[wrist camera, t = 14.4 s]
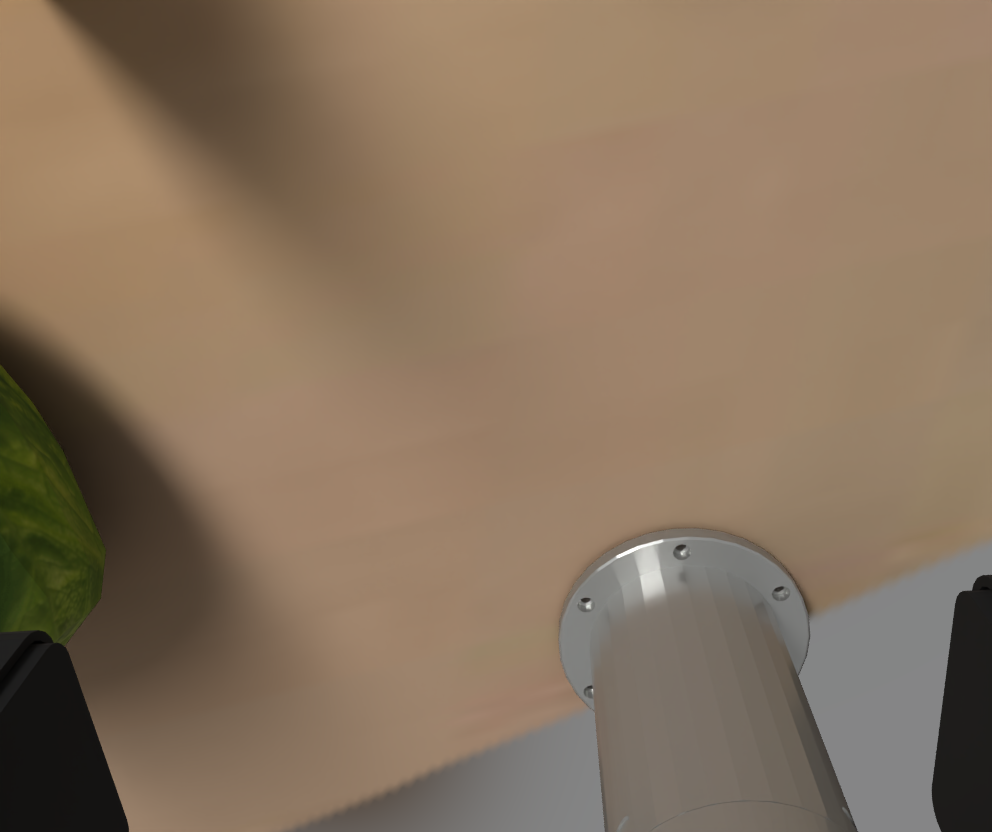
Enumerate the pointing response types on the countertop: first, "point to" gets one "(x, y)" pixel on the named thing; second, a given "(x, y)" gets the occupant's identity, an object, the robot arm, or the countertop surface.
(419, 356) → the countertop surface
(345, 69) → the countertop surface
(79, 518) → the lettuce
